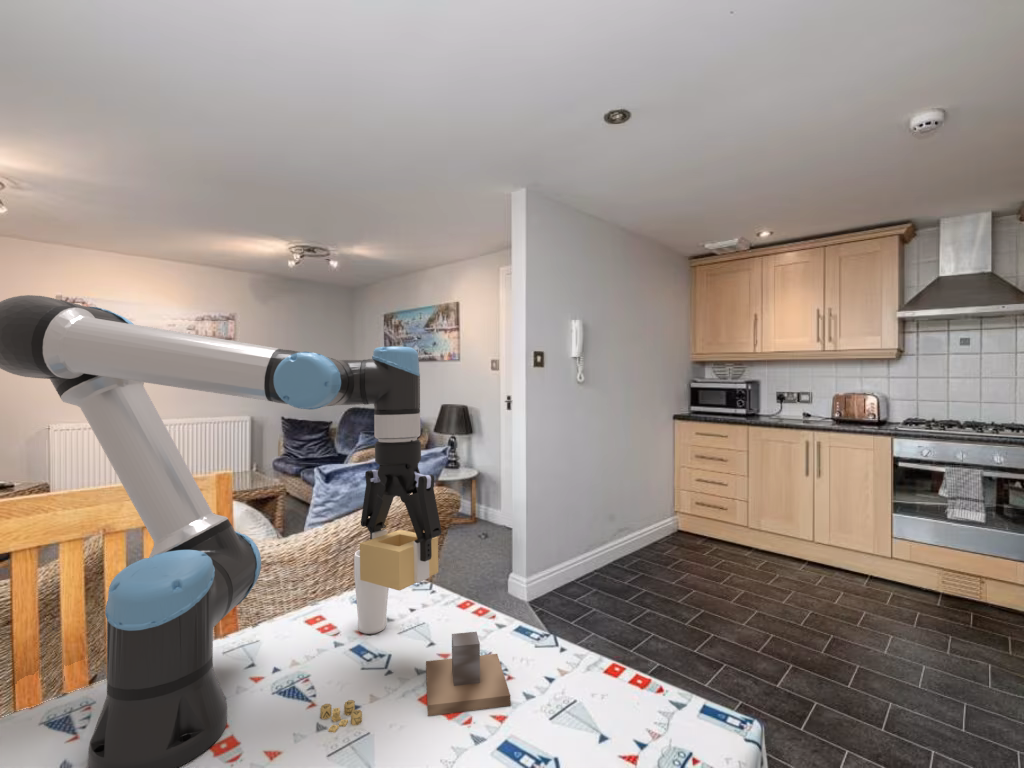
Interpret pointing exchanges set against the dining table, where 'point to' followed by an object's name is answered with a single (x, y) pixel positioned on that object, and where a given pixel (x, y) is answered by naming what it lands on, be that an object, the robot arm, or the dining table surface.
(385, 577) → the collar
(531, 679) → the dining table surface
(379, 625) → the drinking glass
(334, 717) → the dice set
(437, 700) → the post base
